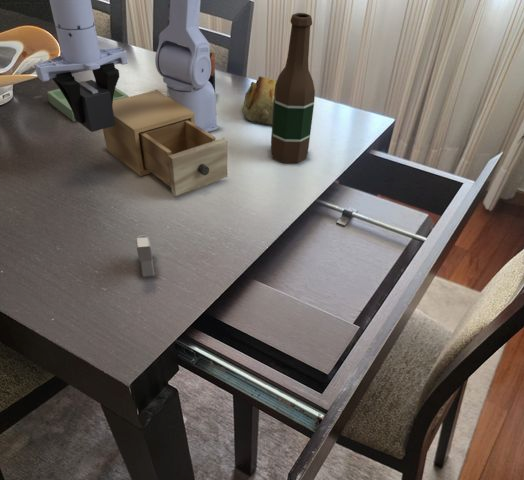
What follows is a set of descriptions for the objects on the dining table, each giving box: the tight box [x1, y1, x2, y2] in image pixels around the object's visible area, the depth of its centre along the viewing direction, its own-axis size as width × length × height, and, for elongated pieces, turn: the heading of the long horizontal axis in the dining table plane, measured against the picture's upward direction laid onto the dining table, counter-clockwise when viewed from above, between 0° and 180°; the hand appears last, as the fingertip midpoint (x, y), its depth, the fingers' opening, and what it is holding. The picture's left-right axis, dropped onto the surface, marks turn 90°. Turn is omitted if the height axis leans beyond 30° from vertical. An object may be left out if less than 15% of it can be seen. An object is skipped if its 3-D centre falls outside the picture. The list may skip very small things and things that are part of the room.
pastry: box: [241, 75, 277, 126], centre depth 107 cm, size 14×12×8 cm
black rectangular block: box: [74, 79, 115, 133], centre depth 81 cm, size 6×4×6 cm
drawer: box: [139, 119, 228, 197], centre depth 87 cm, size 13×11×7 cm
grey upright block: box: [135, 233, 155, 278], centre depth 68 cm, size 7×2×8 cm, turn 13°
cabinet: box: [102, 89, 195, 177], centre depth 92 cm, size 13×13×9 cm
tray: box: [46, 80, 130, 123], centre depth 108 cm, size 14×12×2 cm
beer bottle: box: [270, 12, 316, 164], centre depth 89 cm, size 8×8×24 cm
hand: (93, 117), depth 83 cm, fingers closed on black rectangular block, 4 cm apart
